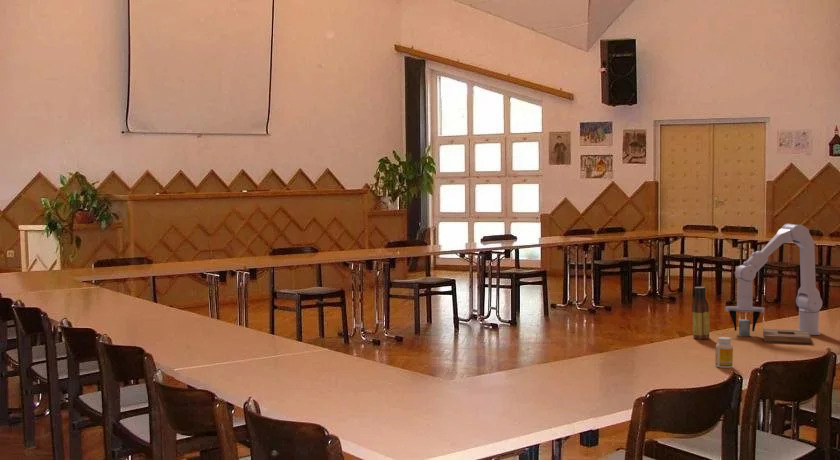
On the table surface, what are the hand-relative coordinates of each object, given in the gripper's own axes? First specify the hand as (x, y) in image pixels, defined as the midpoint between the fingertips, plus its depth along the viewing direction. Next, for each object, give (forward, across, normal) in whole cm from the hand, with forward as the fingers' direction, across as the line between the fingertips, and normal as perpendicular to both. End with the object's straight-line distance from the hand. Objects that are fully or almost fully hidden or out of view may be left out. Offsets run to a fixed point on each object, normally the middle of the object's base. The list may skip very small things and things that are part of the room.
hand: (744, 330), depth 361 cm
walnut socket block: (+2, +15, -5) cm, 16 cm away
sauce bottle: (+2, -16, -11) cm, 20 cm away
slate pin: (+2, 0, 0) cm, 2 cm away
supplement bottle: (+2, -7, -63) cm, 63 cm away
